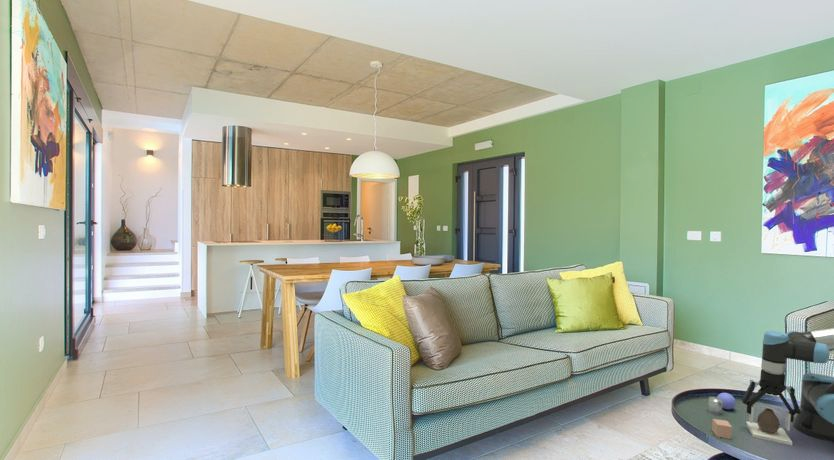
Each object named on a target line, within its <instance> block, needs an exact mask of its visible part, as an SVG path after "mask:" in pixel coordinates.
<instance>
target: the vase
mask: <svg viewBox="0 0 834 460" xmlns="http://www.w3.org/2000/svg"><path fill="white" fill-rule="evenodd" d="M756 423H758V426H759V428H760V429H761V430H762V431H764V432H766V433H771V434H773V433H775V432H777V431H778V429H779V428H780V419H779V418H778V416H777V414H775V412H774V410H773V409H771V408H767V407H765V409H763V410H762V411H761V412H760V413H759V414H758V416H757V421H756Z"/></svg>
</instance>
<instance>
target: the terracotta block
mask: <svg viewBox="0 0 834 460" xmlns="http://www.w3.org/2000/svg"><path fill="white" fill-rule="evenodd" d="M712 431H713V432H714V433H715V434H716V436H719V437H718V438H720V437H722V438H721V439H728V440H731V439H732V434H733V426H732V425H731V424H730V422H729V421H728V420H724V419H717V418H712V424H711V432H712ZM713 432H712V433H713ZM714 433H713V434H714ZM715 434H714V435H715ZM716 436H715V437H716Z"/></svg>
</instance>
